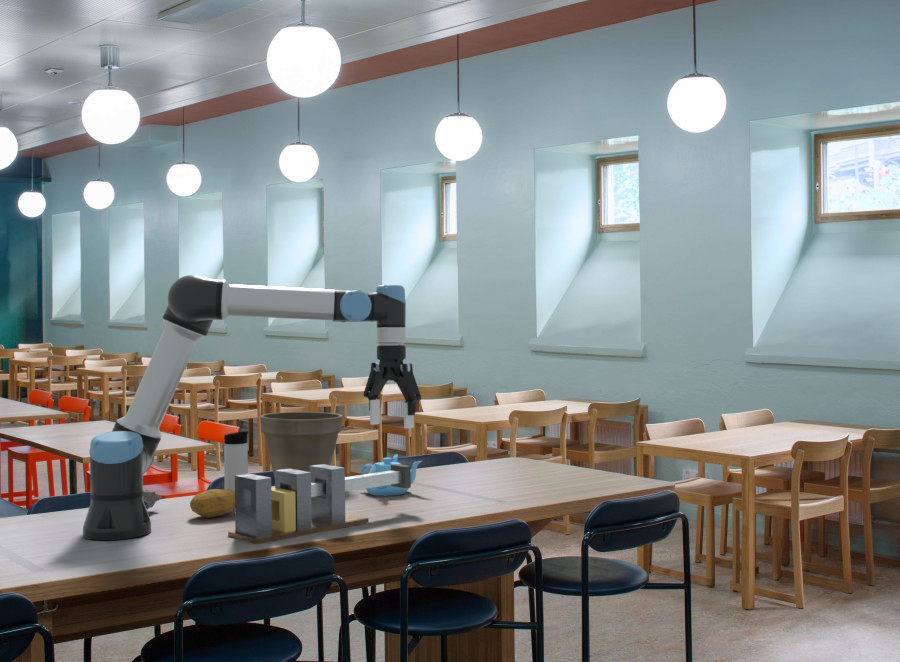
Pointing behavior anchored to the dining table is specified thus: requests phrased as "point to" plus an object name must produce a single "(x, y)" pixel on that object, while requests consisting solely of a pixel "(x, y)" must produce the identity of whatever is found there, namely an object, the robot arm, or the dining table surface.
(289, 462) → the plant pot
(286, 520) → the spacer
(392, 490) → the teapot
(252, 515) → the bearing rail
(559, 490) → the dining table surface
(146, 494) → the mineral specimen
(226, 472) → the travel mug
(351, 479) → the shaft
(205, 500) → the potato
